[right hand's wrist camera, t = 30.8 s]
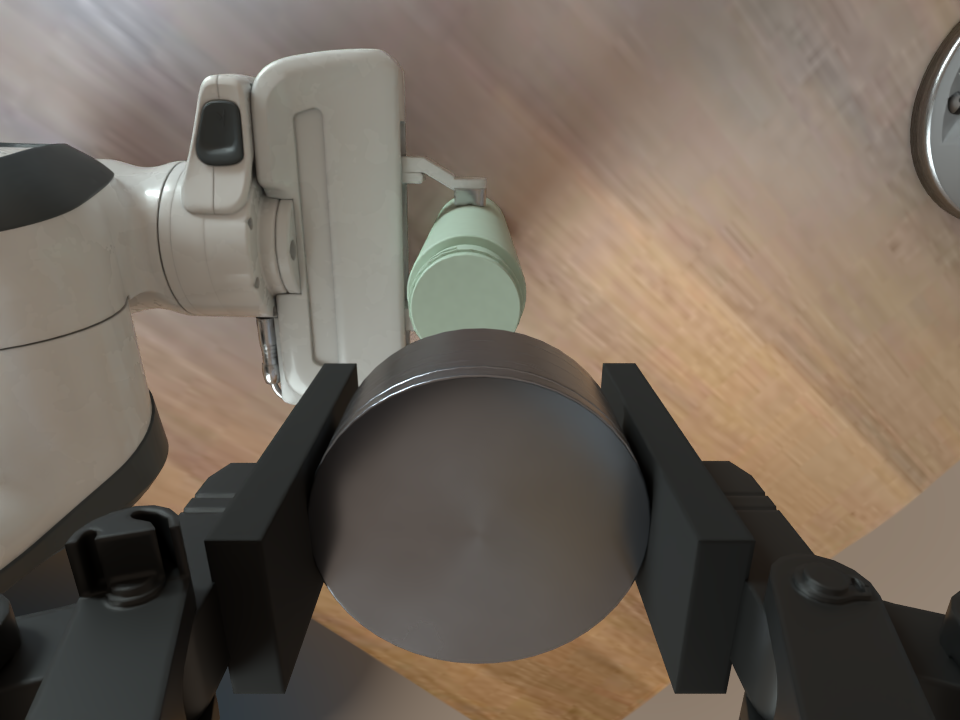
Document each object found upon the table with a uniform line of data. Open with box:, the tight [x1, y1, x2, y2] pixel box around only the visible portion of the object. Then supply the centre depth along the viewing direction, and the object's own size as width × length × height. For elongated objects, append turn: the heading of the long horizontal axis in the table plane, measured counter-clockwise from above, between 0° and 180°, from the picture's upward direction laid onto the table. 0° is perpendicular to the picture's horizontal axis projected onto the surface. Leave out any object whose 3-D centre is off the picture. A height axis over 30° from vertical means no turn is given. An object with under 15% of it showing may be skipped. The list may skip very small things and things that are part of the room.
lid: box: [307, 328, 651, 664], centre depth 11 cm, size 6×6×2 cm
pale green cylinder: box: [407, 198, 526, 339], centre depth 32 cm, size 5×5×20 cm
